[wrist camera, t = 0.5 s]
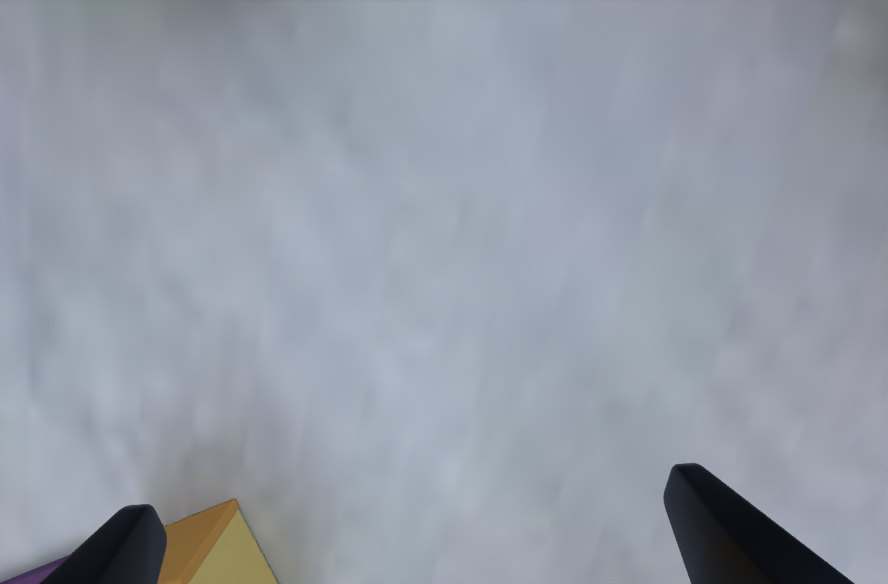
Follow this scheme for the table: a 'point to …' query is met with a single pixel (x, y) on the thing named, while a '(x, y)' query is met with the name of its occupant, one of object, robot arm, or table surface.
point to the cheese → (214, 550)
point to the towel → (35, 574)
